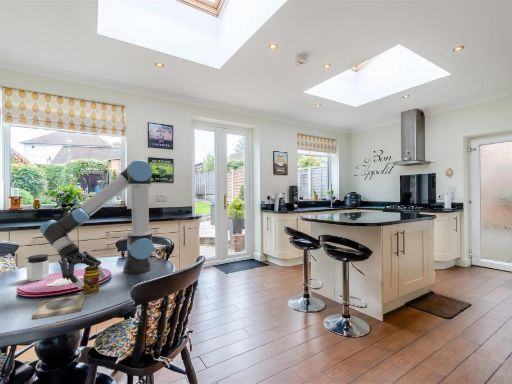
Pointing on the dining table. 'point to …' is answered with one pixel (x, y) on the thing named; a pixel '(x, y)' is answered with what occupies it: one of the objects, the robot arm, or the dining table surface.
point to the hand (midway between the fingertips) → (93, 282)
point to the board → (59, 306)
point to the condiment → (91, 281)
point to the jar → (37, 267)
